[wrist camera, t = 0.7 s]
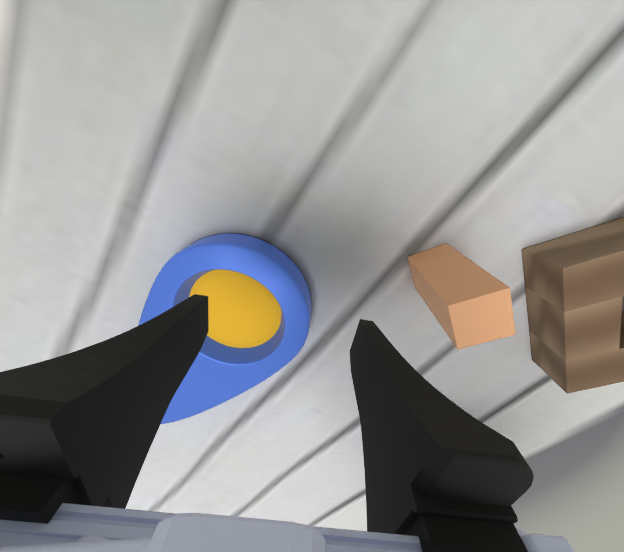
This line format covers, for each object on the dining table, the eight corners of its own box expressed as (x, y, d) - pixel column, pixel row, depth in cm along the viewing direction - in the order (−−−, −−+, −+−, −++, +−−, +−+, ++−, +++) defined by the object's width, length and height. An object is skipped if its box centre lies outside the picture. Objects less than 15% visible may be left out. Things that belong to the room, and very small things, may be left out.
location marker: (205, 425, 33) (341, 296, 24) (192, 453, 30) (343, 317, 21) (106, 370, 30) (218, 198, 21) (80, 395, 27) (198, 205, 18)
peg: (453, 277, 22) (515, 334, 15) (415, 289, 23) (457, 349, 16) (446, 243, 21) (509, 287, 14) (407, 256, 22) (447, 306, 14)
